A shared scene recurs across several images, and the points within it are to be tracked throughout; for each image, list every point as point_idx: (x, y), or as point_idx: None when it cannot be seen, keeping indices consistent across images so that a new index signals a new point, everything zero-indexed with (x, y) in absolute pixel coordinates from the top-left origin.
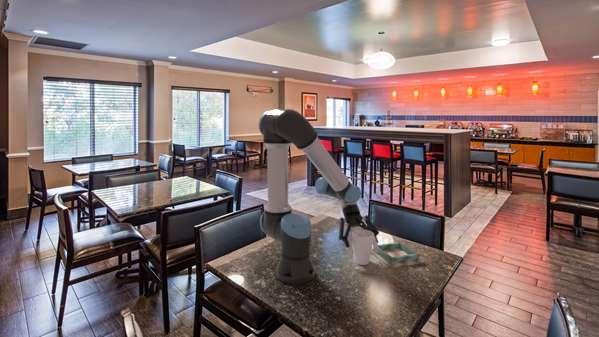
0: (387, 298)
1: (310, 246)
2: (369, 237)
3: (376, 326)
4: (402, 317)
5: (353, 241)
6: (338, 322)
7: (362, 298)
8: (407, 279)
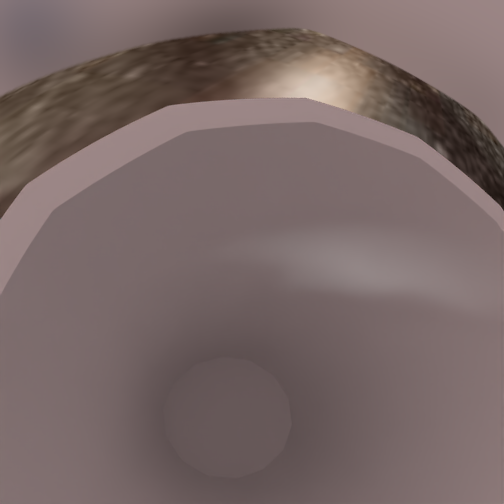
0: (291, 79)
1: None
2: (296, 109)
3: (364, 56)
4: (294, 40)
5: (456, 396)
6: (436, 98)
7: (373, 112)
8: (106, 120)
